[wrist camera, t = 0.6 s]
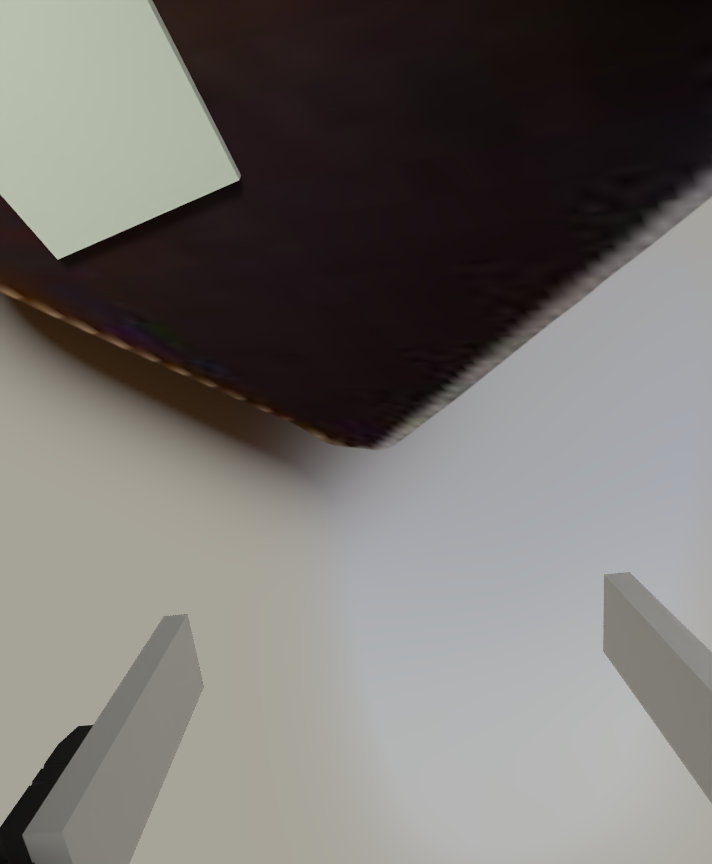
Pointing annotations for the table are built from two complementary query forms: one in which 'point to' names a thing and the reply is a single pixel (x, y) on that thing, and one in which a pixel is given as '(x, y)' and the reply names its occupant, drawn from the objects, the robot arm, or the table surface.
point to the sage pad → (99, 120)
